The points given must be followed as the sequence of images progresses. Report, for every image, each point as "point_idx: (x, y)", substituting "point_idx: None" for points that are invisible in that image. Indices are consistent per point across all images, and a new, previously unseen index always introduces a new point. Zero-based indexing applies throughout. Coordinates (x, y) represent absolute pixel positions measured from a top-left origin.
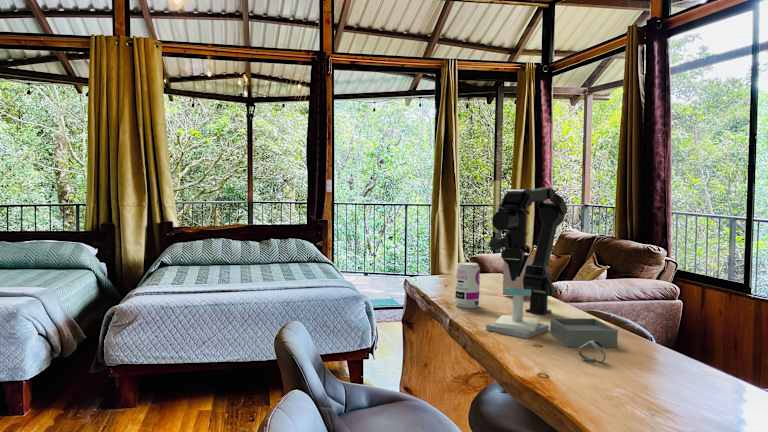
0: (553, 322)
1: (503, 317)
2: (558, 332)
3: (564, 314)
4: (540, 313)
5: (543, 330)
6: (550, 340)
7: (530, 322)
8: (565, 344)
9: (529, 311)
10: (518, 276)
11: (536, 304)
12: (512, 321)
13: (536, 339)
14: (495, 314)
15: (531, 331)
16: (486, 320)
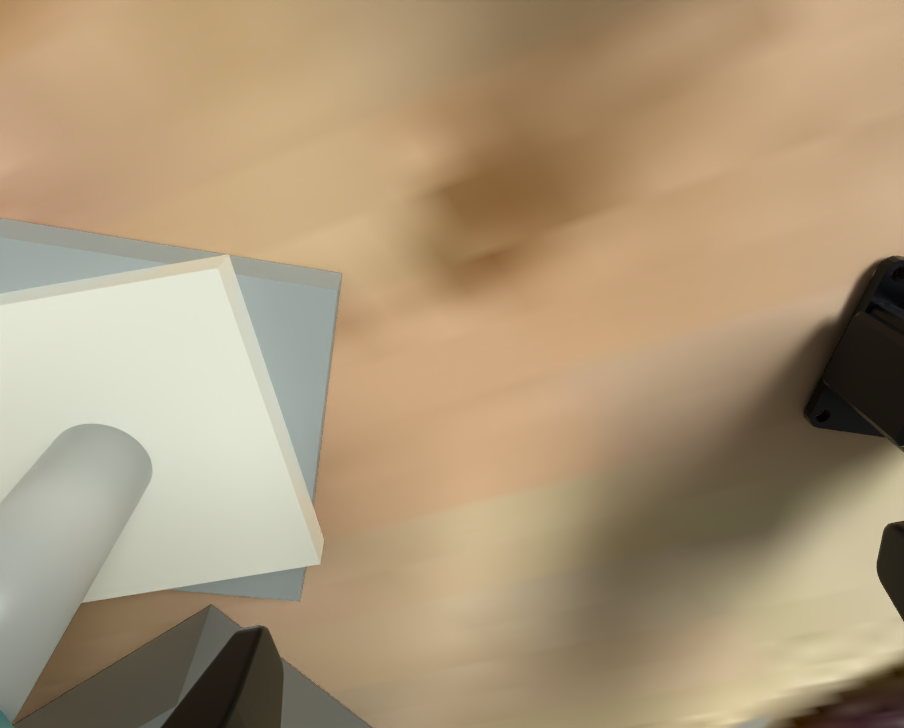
0: (137, 714)
1: (115, 322)
2: (89, 710)
3: (882, 526)
4: (812, 400)
5: None
6: (60, 641)
7: (137, 553)
8: (28, 718)
9: (865, 300)
10: (878, 560)
11: (868, 411)
12: (35, 441)
13: None
14: (616, 14)
15: None
16: (261, 40)
